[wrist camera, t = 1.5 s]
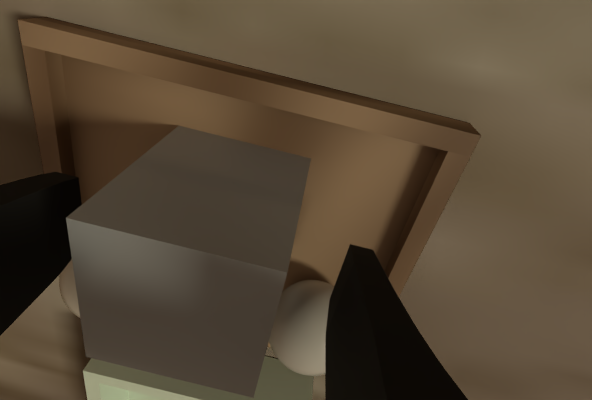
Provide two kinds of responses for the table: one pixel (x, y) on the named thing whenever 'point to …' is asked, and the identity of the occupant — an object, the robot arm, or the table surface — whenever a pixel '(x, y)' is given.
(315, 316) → the white ball
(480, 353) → the table surface
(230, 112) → the brown shallow tray
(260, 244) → the grey block
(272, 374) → the green bin
